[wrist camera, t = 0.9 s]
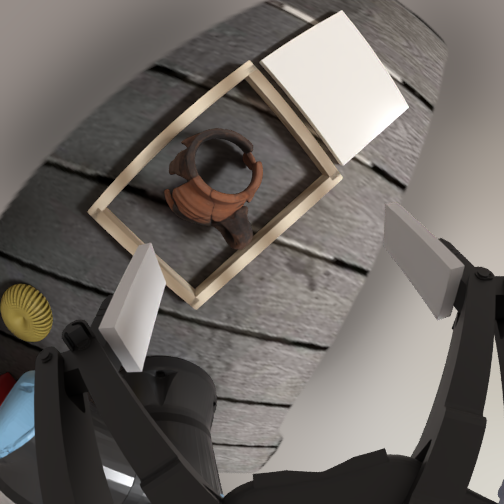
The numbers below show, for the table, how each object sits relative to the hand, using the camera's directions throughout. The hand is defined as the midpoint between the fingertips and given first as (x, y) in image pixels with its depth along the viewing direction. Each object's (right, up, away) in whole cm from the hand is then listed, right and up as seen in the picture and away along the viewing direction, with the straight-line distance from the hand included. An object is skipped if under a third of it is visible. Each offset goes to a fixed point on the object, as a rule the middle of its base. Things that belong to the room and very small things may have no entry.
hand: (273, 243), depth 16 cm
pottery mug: (-5, +7, +16) cm, 18 cm away
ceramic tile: (+9, +19, +14) cm, 25 cm away
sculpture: (-30, -7, +15) cm, 35 cm away
